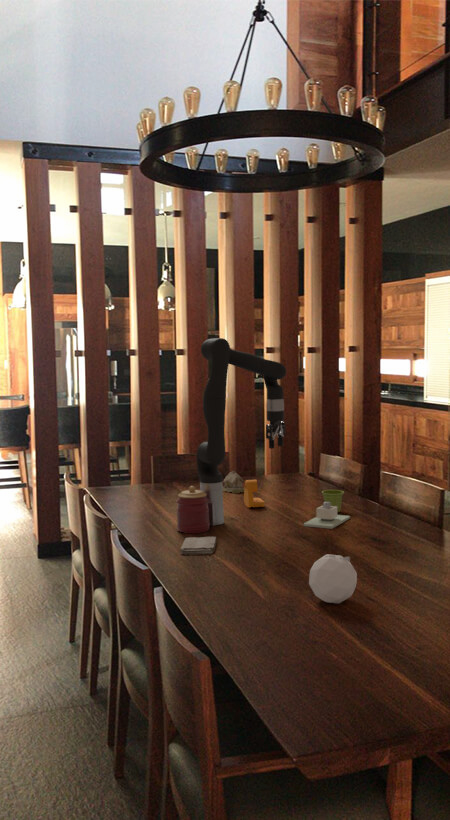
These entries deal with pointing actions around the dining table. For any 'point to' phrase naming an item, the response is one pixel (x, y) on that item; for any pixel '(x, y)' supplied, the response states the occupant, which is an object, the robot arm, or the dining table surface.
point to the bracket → (251, 494)
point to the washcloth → (198, 545)
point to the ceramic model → (233, 483)
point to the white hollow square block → (326, 512)
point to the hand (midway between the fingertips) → (276, 447)
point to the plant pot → (333, 498)
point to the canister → (192, 511)
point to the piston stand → (326, 520)
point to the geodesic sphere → (333, 578)
